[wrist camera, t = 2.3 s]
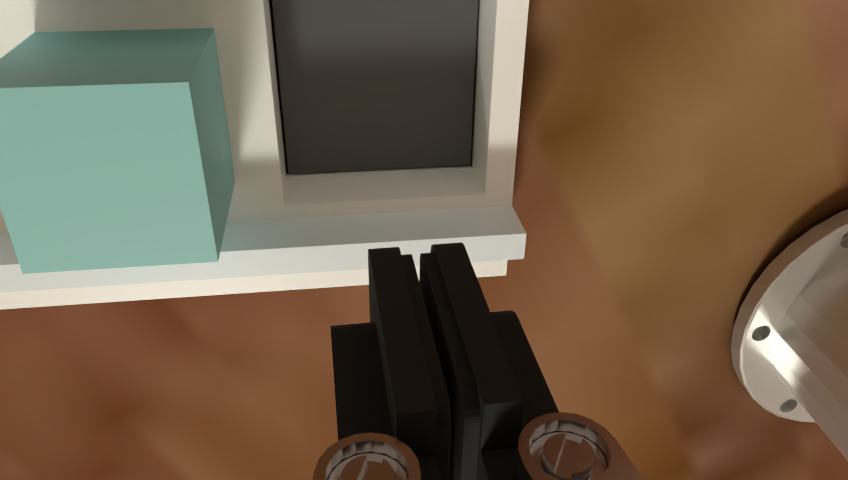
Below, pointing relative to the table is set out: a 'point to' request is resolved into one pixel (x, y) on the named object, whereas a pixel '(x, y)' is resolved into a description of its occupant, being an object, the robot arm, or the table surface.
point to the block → (114, 149)
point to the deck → (325, 139)
